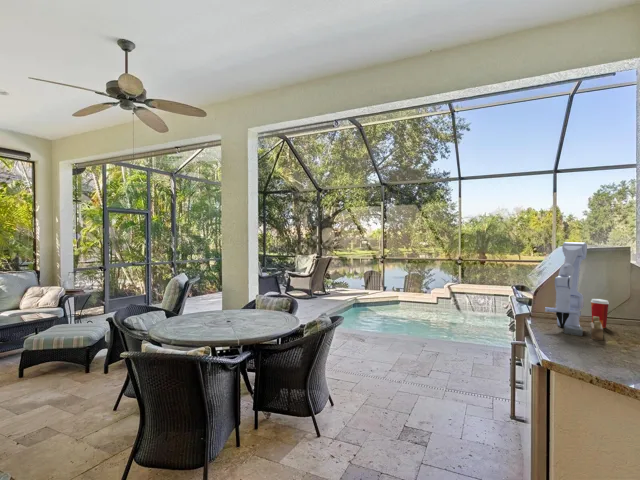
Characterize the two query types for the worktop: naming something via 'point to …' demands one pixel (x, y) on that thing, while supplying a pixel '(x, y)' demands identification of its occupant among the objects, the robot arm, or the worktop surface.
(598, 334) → the bench dog block
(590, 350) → the worktop surface
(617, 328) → the worktop surface
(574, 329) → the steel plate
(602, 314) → the paper cup
